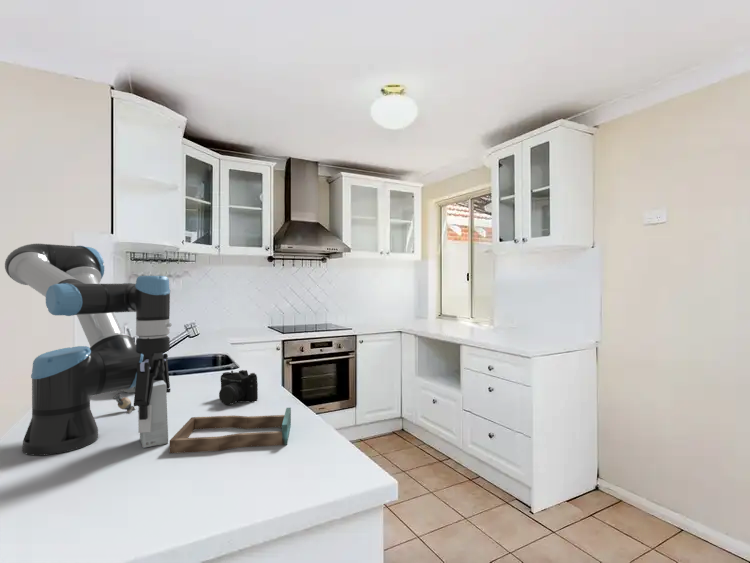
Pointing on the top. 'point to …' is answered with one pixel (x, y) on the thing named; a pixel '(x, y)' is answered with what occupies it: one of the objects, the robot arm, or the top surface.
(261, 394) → the top surface
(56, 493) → the top surface
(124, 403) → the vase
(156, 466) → the top surface
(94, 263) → the robot arm
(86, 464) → the top surface
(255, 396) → the camera
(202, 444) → the brown wooden frame
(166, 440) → the skincare box
